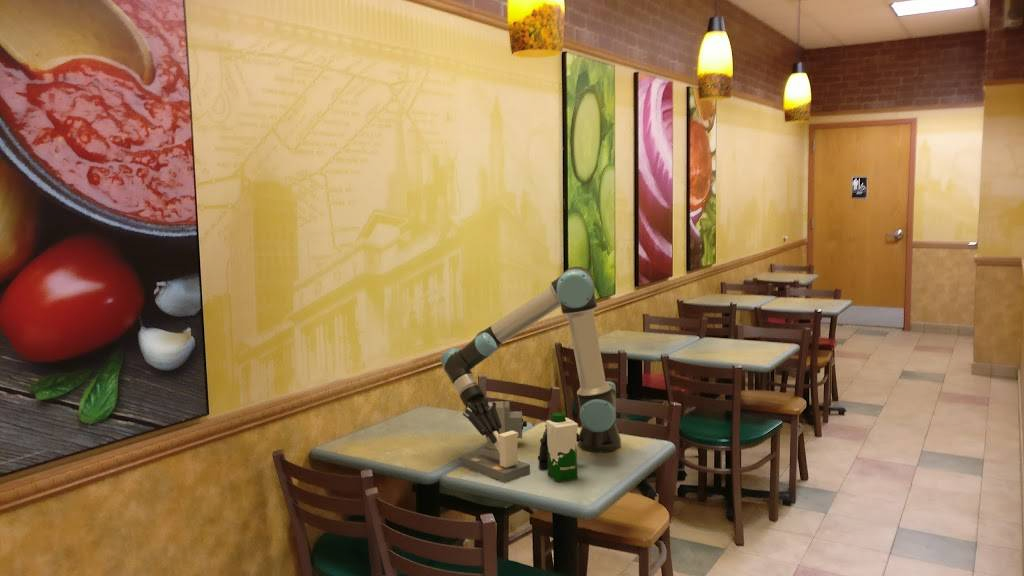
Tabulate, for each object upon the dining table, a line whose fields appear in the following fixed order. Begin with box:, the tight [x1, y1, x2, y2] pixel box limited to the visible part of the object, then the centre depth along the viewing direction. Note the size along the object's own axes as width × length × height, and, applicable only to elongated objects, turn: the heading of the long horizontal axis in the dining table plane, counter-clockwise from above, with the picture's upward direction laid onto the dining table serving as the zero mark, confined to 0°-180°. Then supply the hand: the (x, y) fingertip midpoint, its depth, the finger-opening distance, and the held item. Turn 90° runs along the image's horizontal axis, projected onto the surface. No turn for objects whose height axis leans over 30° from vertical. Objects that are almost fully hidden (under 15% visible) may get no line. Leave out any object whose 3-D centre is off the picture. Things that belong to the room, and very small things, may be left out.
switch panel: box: [460, 448, 531, 484], centre depth 262 cm, size 22×11×3 cm, turn 42°
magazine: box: [537, 424, 580, 471], centre depth 262 cm, size 4×13×15 cm, turn 99°
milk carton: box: [545, 411, 579, 483], centre depth 252 cm, size 9×9×20 cm
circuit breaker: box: [485, 400, 528, 450], centre depth 285 cm, size 8×14×15 cm, turn 89°
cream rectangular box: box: [498, 431, 519, 468], centre depth 256 cm, size 3×6×10 cm, turn 132°
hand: (502, 450), depth 258 cm, fingers closed
